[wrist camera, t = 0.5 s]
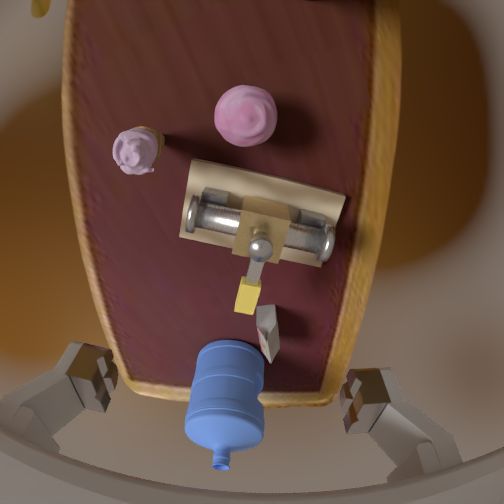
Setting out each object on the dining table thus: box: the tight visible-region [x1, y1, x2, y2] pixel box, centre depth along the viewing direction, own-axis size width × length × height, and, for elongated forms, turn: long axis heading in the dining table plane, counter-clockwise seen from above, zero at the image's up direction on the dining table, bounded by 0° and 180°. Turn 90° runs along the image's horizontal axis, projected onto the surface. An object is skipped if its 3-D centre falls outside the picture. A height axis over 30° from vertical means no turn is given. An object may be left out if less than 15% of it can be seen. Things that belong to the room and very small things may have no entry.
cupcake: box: [215, 85, 277, 147], centre depth 42 cm, size 9×9×10 cm
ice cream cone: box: [113, 126, 165, 175], centre depth 41 cm, size 7×6×15 cm
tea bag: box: [257, 305, 280, 364], centre depth 60 cm, size 4×7×10 cm, turn 9°
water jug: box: [185, 339, 264, 470], centre depth 58 cm, size 16×16×28 cm
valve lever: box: [234, 234, 273, 315], centre depth 44 cm, size 12×3×2 cm, turn 167°
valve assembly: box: [179, 158, 346, 267], centre depth 48 cm, size 14×26×12 cm, turn 77°
